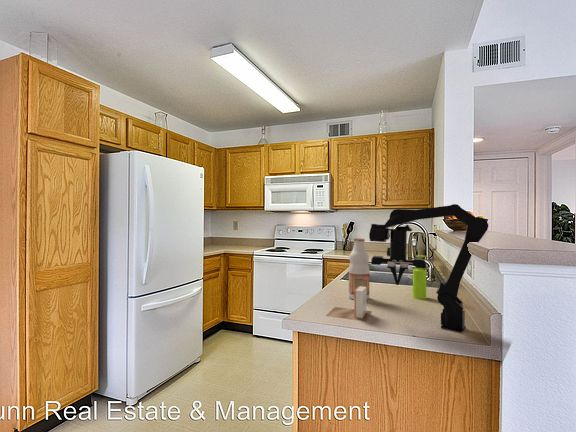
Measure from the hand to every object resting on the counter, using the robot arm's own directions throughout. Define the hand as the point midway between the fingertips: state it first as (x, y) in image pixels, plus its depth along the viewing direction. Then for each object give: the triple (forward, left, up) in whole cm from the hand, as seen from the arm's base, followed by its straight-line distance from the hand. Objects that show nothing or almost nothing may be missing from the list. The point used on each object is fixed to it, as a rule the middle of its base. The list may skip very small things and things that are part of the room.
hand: (397, 284), depth 117 cm
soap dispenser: (+5, -39, -13) cm, 41 cm away
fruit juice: (+26, -18, -13) cm, 34 cm away
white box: (+12, +6, -12) cm, 18 cm away
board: (+16, +7, -13) cm, 22 cm away
